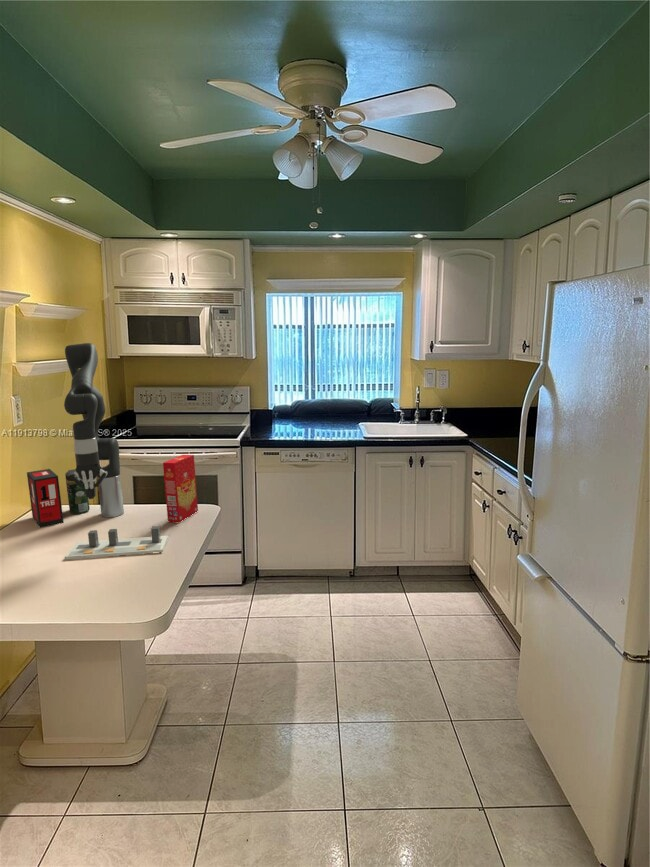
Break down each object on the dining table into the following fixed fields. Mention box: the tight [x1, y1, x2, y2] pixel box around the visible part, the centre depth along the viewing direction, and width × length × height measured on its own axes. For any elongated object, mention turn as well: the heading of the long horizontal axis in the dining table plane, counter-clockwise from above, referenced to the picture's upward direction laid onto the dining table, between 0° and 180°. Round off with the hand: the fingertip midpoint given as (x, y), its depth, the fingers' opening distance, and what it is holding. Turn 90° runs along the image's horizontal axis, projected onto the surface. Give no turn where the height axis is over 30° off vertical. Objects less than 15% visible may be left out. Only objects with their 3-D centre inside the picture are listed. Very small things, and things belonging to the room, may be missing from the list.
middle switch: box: [107, 528, 119, 545], centre depth 206 cm, size 3×2×5 cm
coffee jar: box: [65, 468, 90, 515], centre depth 249 cm, size 10×8×19 cm
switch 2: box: [150, 525, 161, 542], centre depth 207 cm, size 3×2×5 cm
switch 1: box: [87, 529, 99, 547], centre depth 205 cm, size 3×2×5 cm
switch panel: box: [64, 535, 169, 561], centre depth 205 cm, size 14×33×2 cm, turn 97°
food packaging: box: [162, 454, 199, 523], centre depth 236 cm, size 15×5×25 cm, turn 162°
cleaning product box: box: [26, 468, 64, 528], centre depth 238 cm, size 16×9×20 cm, turn 36°
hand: (91, 498), depth 202 cm, fingers closed
